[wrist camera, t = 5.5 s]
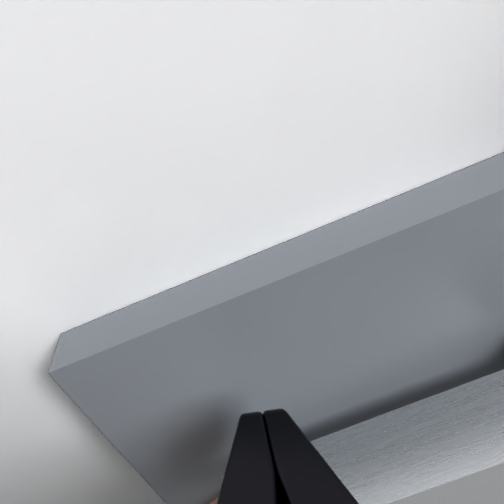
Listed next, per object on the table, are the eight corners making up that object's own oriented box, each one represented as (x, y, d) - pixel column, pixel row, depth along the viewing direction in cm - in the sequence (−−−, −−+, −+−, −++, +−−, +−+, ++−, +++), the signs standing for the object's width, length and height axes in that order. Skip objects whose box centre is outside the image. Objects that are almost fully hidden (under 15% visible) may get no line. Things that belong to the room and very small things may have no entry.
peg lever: (694, 237, 9) (831, 305, 7) (673, 366, 11) (776, 446, 9) (125, 455, 10) (113, 567, 8) (200, 538, 12) (204, 643, 10)
